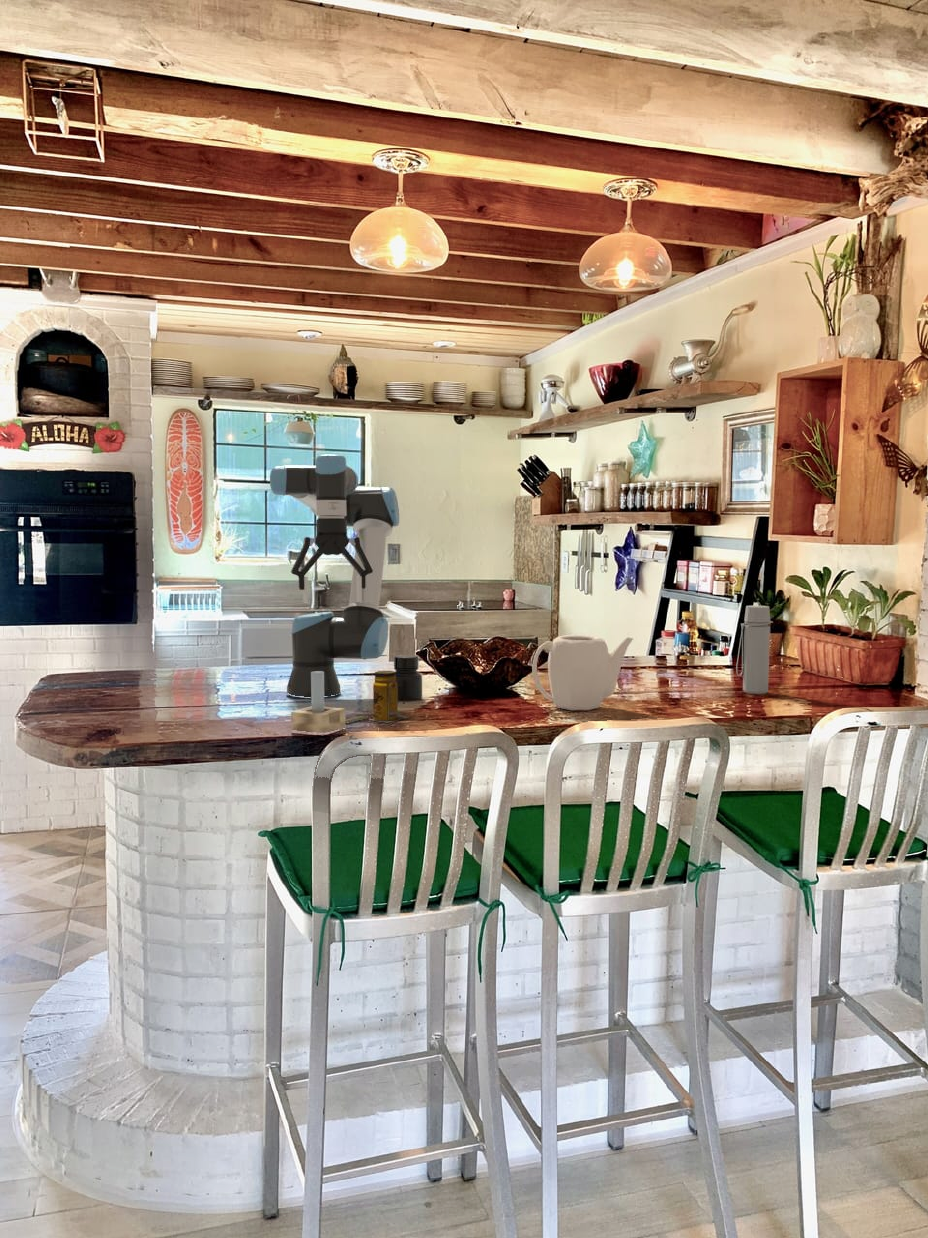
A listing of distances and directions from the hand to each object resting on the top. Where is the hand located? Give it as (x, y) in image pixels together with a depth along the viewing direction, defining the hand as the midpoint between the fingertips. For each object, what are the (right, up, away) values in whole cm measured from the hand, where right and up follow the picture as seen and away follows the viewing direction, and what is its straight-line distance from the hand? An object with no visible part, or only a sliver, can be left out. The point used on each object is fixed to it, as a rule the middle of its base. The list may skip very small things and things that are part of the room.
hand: (332, 602), depth 243 cm
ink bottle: (+17, -27, +25) cm, 41 cm away
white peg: (-1, -31, -17) cm, 35 cm away
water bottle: (+116, -26, +36) cm, 124 cm away
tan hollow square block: (-1, -30, -17) cm, 35 cm away
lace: (+5, -29, -7) cm, 31 cm away
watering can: (+64, -28, +13) cm, 71 cm away
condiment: (+14, -29, -2) cm, 33 cm away
